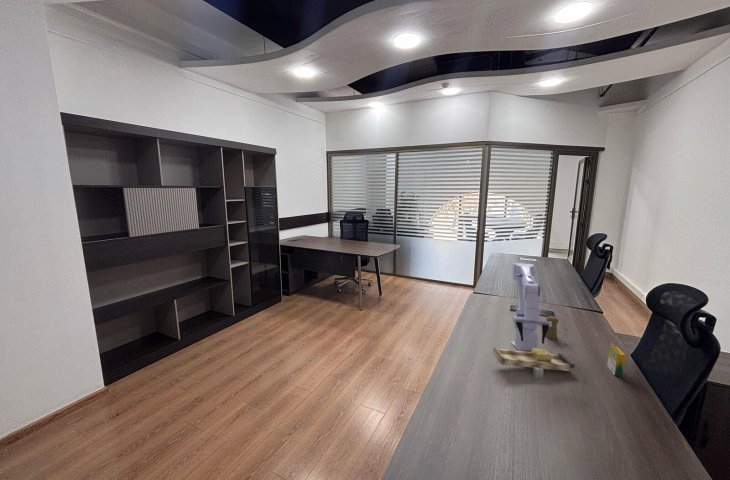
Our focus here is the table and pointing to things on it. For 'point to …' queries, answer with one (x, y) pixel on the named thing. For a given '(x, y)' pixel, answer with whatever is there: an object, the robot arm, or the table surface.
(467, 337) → the table surface
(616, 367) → the crayon box
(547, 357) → the block
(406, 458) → the table surface
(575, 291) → the table surface
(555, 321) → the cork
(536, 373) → the grey rectangular bar
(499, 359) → the beam
